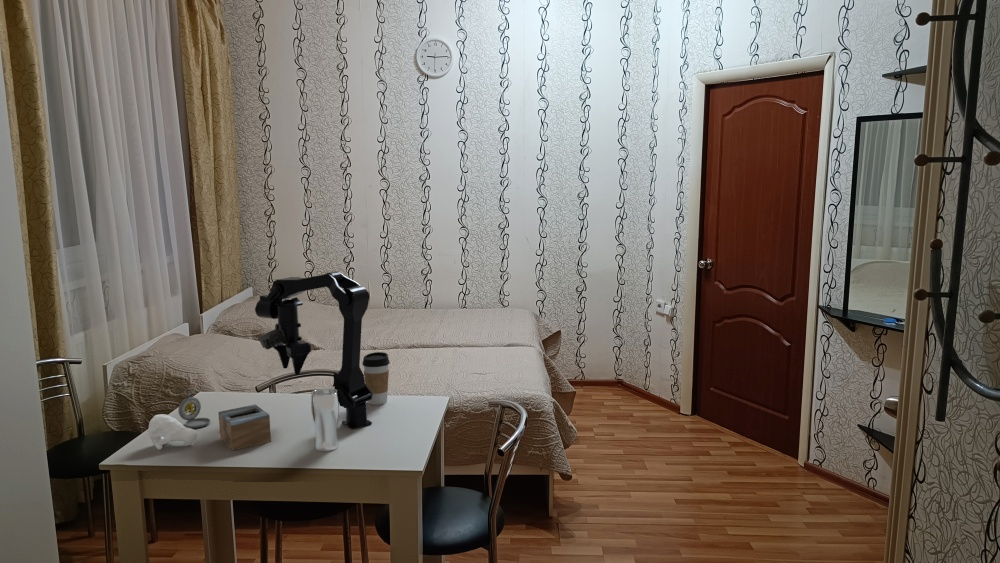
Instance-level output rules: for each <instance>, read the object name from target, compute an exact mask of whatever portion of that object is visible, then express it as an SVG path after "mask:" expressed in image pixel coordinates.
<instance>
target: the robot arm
mask: <svg viewBox="0 0 1000 563" xmlns="http://www.w3.org/2000/svg"><path fill="white" fill-rule="evenodd" d="M321 288H327V289H329V292H330V294H331V297H332V298H333V299H334V300H336V302H338V309H339V312H340V313H341V315H342V317H343V333H342V351H341V352H342V356H341V357H342V359H341V368H340V370H338V371H335V372H333V385H332V388H333V389H336V390H337V395H338V402H339V407H343V409H344V408H345V413H346V415H345V417H346V419H344V420H342V421H341V424H343V425H344V426H346V427H348V428H349V429H350V430H351V429H352V430H353V429H356V428H361V427H364V426H369V425H372V424H373V421H371V420H369V419H368V414H367V403H368V401H369V400H372V396H373V393H372V392H371V390H370V389H369V388H368V387H367V385H366V384H365V377H364V371H363V370H362V369H361V367H360V366H361V364H360V362H361V346H362V344H361V342H362V322H363V317H364V315H365V314H366V311H367V310H368V306H369V302H370V293H369V291H368V290H367V288H365V286H363V285H361V284H359V283H358V281H355V280H354V279H353V278H352V279H351V278H350V277H347V276H345V274H343V273H342V272H340V271H336V270H335V271H332V272H331V271H330V272H327V273H325V274H319V275H315V276H310V277H300V276H299V277H298V276H290V277H285V278H279V279H275V280H274V281H273V283H272V286H271V289H270V291H269V293H268V294H262V295H260V296H259V299H258V301H257V303H256V305H255V308H254V311H255V314H256V316H258V317H259V318H262V319H263V318H264V319H272V320H277V323H275V325H274V329H272V330H270V331H268V332H266V333H264V334H263V335H261V336H258V341H259V343H260V345H261V347H262V348H263V349H265V350H270V349H272V348H273V349H274V350H275V351H277V355H278V356H279V360H280V363H281V365H282V367H283V369H288V367H289V364H290V360H291V362H292V367H293V371H294V375H295V376H299V375H300V373H301V371H302V370H303V369H302V368H303V366H304V364H305V361H306V359H307V357H308V356H309V355H310V353H312V345H311V344H310V343H309V342H307V341H305V340H303V339H302V336H300V333H299V332H300V331H299V328H301V327H302V323H300V322H299V314H298V307H299V306H300V307H301V306H303V305H304V303H303V302H302V300H300V299H299V298H298V297H296V296H299V295H300V294H303V293H305V292H306V291H311V290H317V289H321ZM291 297H292V298H291Z"/></svg>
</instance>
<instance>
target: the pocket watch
mask: <svg viewBox="0 0 1000 563" xmlns="http://www.w3.org/2000/svg"><path fill="white" fill-rule="evenodd" d="M186 391H188V392H187V393H186ZM189 391H190V392H189ZM192 393H193V390H192V389H191V388H187V389H185V390H184V391H183V394H184V395H186V396H187V397H186V398H184V399H183V400H181V402H180V404H179V406H178V411H177V412H178V415H179V417H180V418H181V419H182V420H184V421H185V425H184V426H185V427H186V428H190V429H194V428H195V429H197V428H202V427H205V426H208V425H209V424H210V423H211V419H210V418H208V417H198V416H199V414H200V413H201V408H202V407H201V406H202V405H201V402H200V400H199V399H198V398H196V397H194V396H191V395H192Z"/></svg>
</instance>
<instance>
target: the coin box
mask: <svg viewBox="0 0 1000 563" xmlns="http://www.w3.org/2000/svg"><path fill="white" fill-rule="evenodd" d="M253 413H254V414H253ZM217 414H218V422H219V423H218V424H219V436H220V437H219V438H220V440H221V441H222V442H223V443H225V445H227V446H228V445H229V446H228V448H230V447H231V448H232V449H233V450H232V449H231V448H230V449H231V450H232V451H236V450H235V449H237V450H240V449H239V448H241V449H244V448H243V447H245V448H248V446H250V447H254V446H257V444H258V445H262V444H265V443H269V442H272V436H271V434H272V432H271V421H270V414H269V412H267V411H265V410H264V409H263V408H261V407H260V406H258V405H257V404H251V405H245V406H242V407H236V408H235V407H234V408H232V409H231V408H230V409H226V410H222V411H218V413H217ZM248 414H250V415H248ZM244 415H246V416H244ZM239 416H241V417H239ZM234 417H236V418H234ZM231 418H232V419H231ZM253 445H254V446H253Z"/></svg>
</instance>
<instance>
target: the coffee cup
mask: <svg viewBox="0 0 1000 563" xmlns="http://www.w3.org/2000/svg"><path fill="white" fill-rule="evenodd" d="M361 363H362V364H361V366H363V374H364V381H365V384H366V385H367V387H368V388H369V389H370V390H371V392H372V393H373V396H372V400H369V401H367V403H368V404H369V405H371V404H372V406H379V405H385V404H387V403H388V391H389V378H390V377H389V373H390V371H389V370H390V369H389V364H390V359H389V354H388V353H386V352H385V351H384V352H382V351H378V352H377V351H376V352H374V351H373V352H371V353H367V354H366V355H364V356H363V360H362V362H361Z"/></svg>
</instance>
